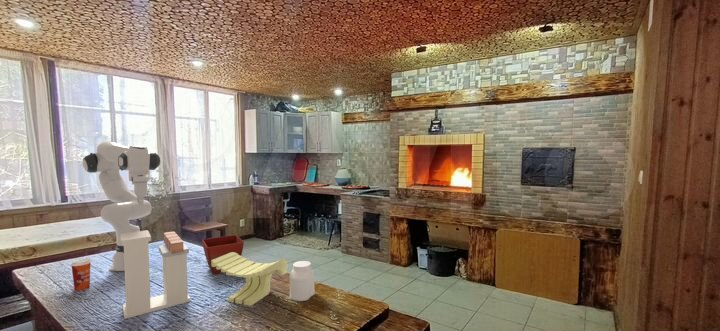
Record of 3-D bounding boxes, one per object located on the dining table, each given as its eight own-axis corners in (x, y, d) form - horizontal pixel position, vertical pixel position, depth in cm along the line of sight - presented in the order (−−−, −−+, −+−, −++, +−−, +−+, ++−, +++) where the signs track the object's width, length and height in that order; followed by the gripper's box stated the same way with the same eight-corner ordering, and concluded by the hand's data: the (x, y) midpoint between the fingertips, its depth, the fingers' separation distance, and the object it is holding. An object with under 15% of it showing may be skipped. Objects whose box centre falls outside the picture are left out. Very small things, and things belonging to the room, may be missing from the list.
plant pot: (244, 270, 180) (244, 241, 179) (208, 278, 169) (207, 247, 168) (236, 261, 195) (236, 234, 195) (202, 268, 185) (201, 239, 184)
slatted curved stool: (287, 293, 150) (287, 256, 149) (266, 309, 135) (266, 268, 134) (236, 284, 160) (235, 250, 160) (212, 298, 145) (211, 260, 145)
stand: (122, 306, 139) (120, 233, 137) (184, 290, 154) (182, 225, 152) (124, 319, 128) (121, 240, 126) (190, 301, 143) (188, 231, 141)
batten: (163, 242, 153) (163, 232, 153) (174, 240, 156) (174, 231, 156) (171, 254, 134) (171, 243, 134) (183, 252, 137) (183, 241, 137)
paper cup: (80, 292, 153) (78, 263, 152) (67, 291, 154) (66, 262, 154) (96, 285, 160) (95, 258, 160) (84, 284, 162) (83, 257, 161)
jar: (304, 302, 141) (304, 269, 140) (286, 299, 144) (286, 266, 144) (317, 292, 151) (317, 261, 151) (300, 288, 155) (299, 258, 154)
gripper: (130, 176, 167) (131, 202, 168) (133, 178, 151) (134, 207, 152) (144, 175, 171) (145, 201, 172) (148, 178, 155) (149, 206, 156)
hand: (140, 204), depth 161 cm, fingers open, 8 cm apart
